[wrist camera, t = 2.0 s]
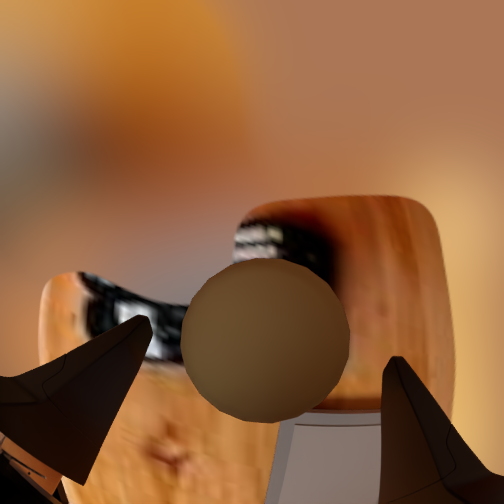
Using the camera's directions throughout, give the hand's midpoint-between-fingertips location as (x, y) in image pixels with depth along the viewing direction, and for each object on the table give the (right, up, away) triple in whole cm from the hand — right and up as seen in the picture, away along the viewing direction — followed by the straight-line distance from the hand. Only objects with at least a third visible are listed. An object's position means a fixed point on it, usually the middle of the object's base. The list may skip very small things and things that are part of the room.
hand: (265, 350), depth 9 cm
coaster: (+5, -11, +4) cm, 13 cm away
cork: (+1, -2, +8) cm, 9 cm away
